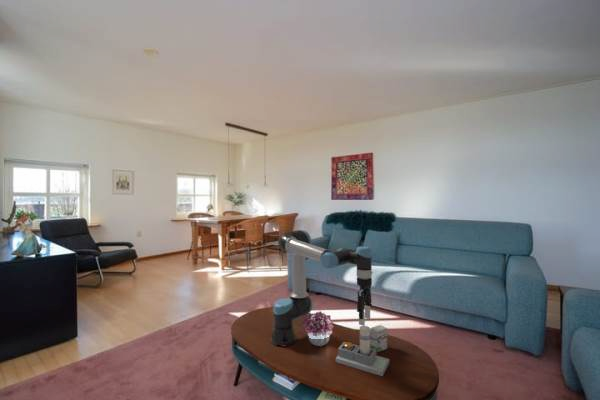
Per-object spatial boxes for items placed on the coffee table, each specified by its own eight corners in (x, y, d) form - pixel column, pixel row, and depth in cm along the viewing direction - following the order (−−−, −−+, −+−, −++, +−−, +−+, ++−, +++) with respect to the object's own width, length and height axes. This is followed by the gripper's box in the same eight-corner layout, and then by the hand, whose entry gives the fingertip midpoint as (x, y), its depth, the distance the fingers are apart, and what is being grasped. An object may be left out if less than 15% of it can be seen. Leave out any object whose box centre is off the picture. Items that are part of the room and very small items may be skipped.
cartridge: (358, 360, 145) (358, 328, 145) (361, 355, 149) (361, 325, 149) (368, 363, 142) (368, 331, 142) (371, 358, 147) (371, 327, 147)
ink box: (377, 353, 156) (376, 331, 156) (370, 349, 160) (370, 328, 160) (387, 348, 160) (387, 327, 160) (380, 344, 164) (380, 324, 165)
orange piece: (342, 355, 149) (342, 345, 150) (345, 350, 154) (345, 341, 154) (351, 357, 147) (351, 347, 147) (354, 353, 151) (354, 343, 151)
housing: (335, 362, 147) (335, 350, 147) (345, 350, 158) (345, 339, 158) (382, 376, 135) (382, 363, 135) (389, 362, 146) (389, 351, 146)
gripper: (364, 283, 135) (365, 331, 135) (377, 273, 153) (377, 315, 153) (349, 281, 139) (350, 327, 139) (363, 271, 157) (364, 313, 157)
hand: (364, 321), depth 146 cm, fingers open, 8 cm apart
